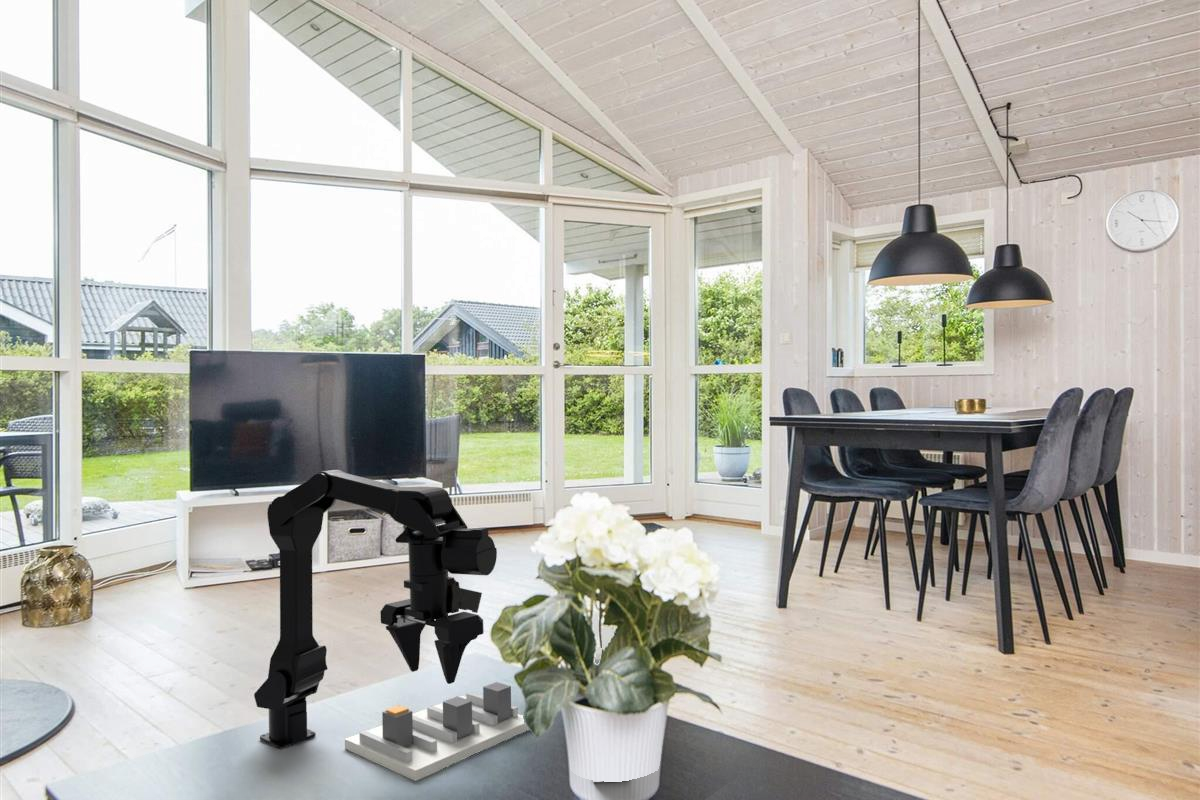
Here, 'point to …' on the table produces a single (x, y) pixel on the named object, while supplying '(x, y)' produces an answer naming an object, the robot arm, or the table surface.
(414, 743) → the breaker board
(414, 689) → the table surface
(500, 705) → the block
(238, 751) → the table surface
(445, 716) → the block
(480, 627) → the robot arm
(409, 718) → the block
